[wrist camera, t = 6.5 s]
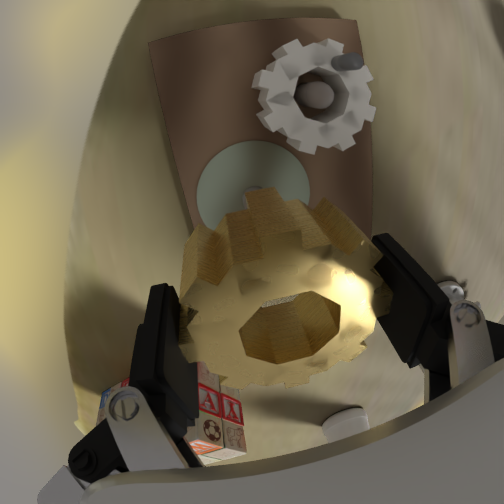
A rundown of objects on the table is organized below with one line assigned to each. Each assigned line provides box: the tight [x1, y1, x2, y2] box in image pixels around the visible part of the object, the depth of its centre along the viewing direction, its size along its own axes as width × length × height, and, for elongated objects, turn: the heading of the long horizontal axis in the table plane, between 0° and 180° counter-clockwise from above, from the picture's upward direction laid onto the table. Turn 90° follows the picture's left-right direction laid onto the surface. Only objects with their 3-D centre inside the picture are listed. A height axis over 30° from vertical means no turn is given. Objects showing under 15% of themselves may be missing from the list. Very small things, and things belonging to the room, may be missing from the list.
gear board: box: [148, 18, 373, 240], centre depth 17 cm, size 14×18×5 cm
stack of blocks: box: [96, 361, 247, 465], centre depth 27 cm, size 21×6×12 cm, turn 128°
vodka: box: [322, 408, 370, 443], centre depth 34 cm, size 9×9×30 cm
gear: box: [251, 38, 376, 155], centre depth 14 cm, size 7×7×5 cm
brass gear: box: [179, 187, 393, 390], centre depth 10 cm, size 7×7×3 cm
